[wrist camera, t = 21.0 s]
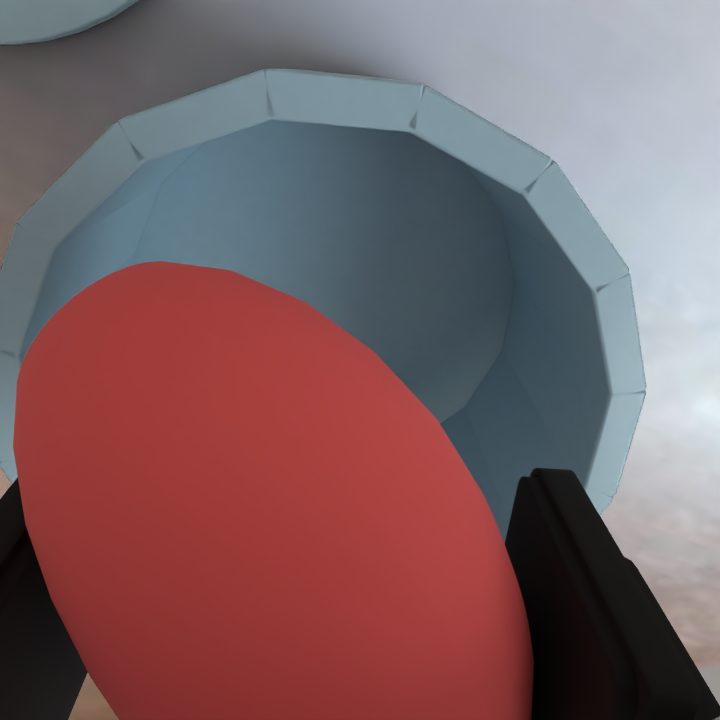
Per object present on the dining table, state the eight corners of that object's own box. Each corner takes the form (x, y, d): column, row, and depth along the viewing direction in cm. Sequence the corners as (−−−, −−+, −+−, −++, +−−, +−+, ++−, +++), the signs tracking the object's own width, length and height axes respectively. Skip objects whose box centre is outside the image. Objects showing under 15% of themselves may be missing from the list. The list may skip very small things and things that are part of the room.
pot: (101, 50, 18) (-75, 34, 10) (572, 96, 19) (732, 114, 11) (127, 460, 24) (25, 649, 16) (493, 481, 25) (564, 671, 17)
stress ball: (513, 231, 10) (349, 155, 4) (593, 786, 11) (540, 1390, 5) (236, 287, 12) (-123, 287, 6) (311, 748, 13) (36, 1136, 7)
